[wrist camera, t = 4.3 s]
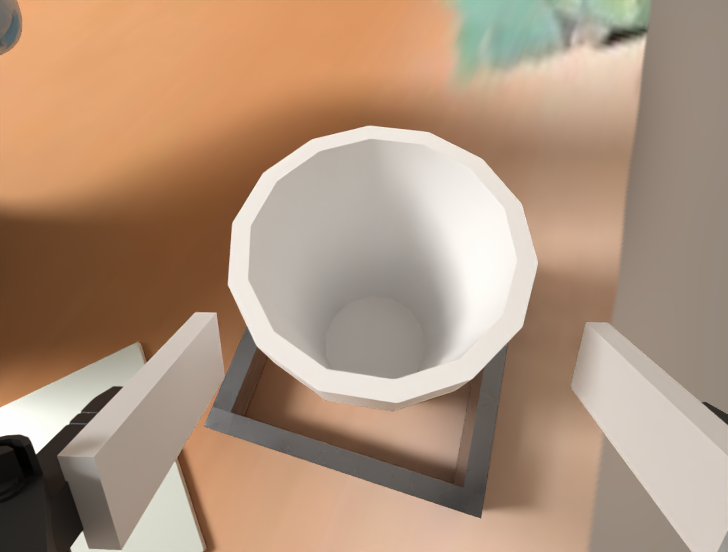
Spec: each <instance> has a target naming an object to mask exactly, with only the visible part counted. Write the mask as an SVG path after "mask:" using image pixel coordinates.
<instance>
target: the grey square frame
mask: <svg viewBox="0 0 728 552" xmlns="http://www.w3.org/2000/svg"><path fill="white" fill-rule="evenodd" d="M507 344H508V342H507V343H506V345H505V346H504V347H503V348H502V349H501V350H500V351H499V352H498V353H497V354H496V355H495V356H494V357H493V358H492V359H491V360H490V361H489V362H488V363H487V364H486V365H485V366H484V367H483V369H482V370H481V371H480V372H479V373H478V374H477V375H476V376H475V377H474V378H473V379H472V383H471V389H470V394H469V400H468V405H467V411H466V416H465V422H464V427H463V433H462V438H461V444H460V449H459V455H458V460H457V466H456V471H455V477H454V482H453V484H452V483H449V482H446V481H443V480H440V479H437V478H433V477H430V476H427V475H424V474H421V473H418V472H415V471H412V470H409V469H406V468H403V467H399V466H396V465H393V464H390V463H387V462H384V461H381V460H378V459H375V458H372V457H369V456H365V455H362V454H359V453H356V452H353V451H350V450H347V449H344V448H341V447H338V446H334V445H331V444H328V443H325V442H322V441H319V440H316V439H313V438H310V437H307V436H304V435H300V434H297V433H294V432H291V431H288V430H285V429H282V428H279V427H276V426H273V425H270V424H266V423H263V422H260V421H257V420H254V419H251V418H248V417H245V414H246V411H247V409H248V406H249V403H250V401H251V398H252V396H253V393H254V391H255V388H256V386H257V383H258V381H259V378H260V375H261V373H262V370H263V368H264V365H265V363H266V360H267V358H268V356H267V355H266V354H265V353H263V352H262V351H261V350H260V349H259V348H258V347H257V346H256V344H255V342H254V340H253V337H252V335H251V333H250V331H249V329H248V327H246V329H245V332H244V334H243V336H242V339H241V341H240V343H239V346H238V348H237V350H236V353H235V355H234V357H233V360H232V362H231V364H230V367H229V369H228V372H227V374H226V376H225V379H224V381H223V383H222V386H221V388H220V390H219V393H218V395H217V397H216V400H215V402H214V404H213V407H212V409H211V411H210V414H209V416H208V418H207V421H206V423H205V425H204V427H207V428H210V429H213V430H216V431H219V432H222V433H225V434H228V435H231V436H234V437H237V438H240V439H243V440H246V441H249V442H252V443H255V444H258V445H261V446H264V447H267V448H270V449H273V450H276V451H279V452H282V453H285V454H288V455H291V456H294V457H297V458H300V459H303V460H306V461H309V462H312V463H315V464H318V465H321V466H324V467H327V468H330V469H333V470H336V471H339V472H342V473H345V474H348V475H352V476H355V477H358V478H361V479H364V480H367V481H370V482H373V483H376V484H379V485H382V486H385V487H388V488H391V489H394V490H397V491H400V492H403V493H406V494H409V495H412V496H415V497H418V498H421V499H424V500H427V501H430V502H433V503H436V504H439V505H442V506H445V507H448V508H451V509H454V510H457V511H460V512H463V513H466V514H469V515H472V516H475V517H478V518H481V515H482V509H483V502H484V495H485V489H486V482H487V476H488V469H489V463H490V456H491V449H492V443H493V436H494V430H495V423H496V416H497V410H498V403H499V397H500V390H501V384H502V377H503V370H504V364H505V357H506V351H507Z"/></svg>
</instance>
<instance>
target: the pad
mask: <svg viewBox="0 0 728 552" xmlns="http://www.w3.org/2000/svg"><path fill="white" fill-rule="evenodd" d="M146 363H147V361H146V358H145V355H144V352H143V349H142V346H141V343H139V342H136V343H134V344H132V345H130V346H128V347H126V348H123V349H121V350H119V351H117V352H115V353H113V354H111V355H109V356H107V357H105V358H103V359H101V360H98V361H96V362H94V363H92V364H90V365H88V366H86V367H84V368H82V369H80V370H78V371H76V372H73V373H71V374H69V375H67V376H65V377H63V378H61V379H59V380H57V381H55V382H53V383H51V384H48V385H46V386H44V387H42V388H40V389H38V390H36V391H34V392H32V393H30V394H28V395H26V396H23V397H21V398H19V399H17V400H15V401H13V402H11V403H9V404H7V405H5V406H3V407H1V408H0V437H1V436H5V435H17V434H21V435H24V436H27V437H29V439H30V440H31V442H32V445H33V447H34V450H35V453H36V454H37V453H38V452H39V451H40V450H41V449H42V448H43V447H44V446H45V445H46V444H47V443H48V442H49V441H50V440H51V439H52V438H53V437H54V436H55V435H56V434H58V433H59V432H60V431H61V430H62V429H63V428H64V427H65V426H66V425H69V423H70V421H71V420H72V419H73V418H74V417H75V416H76V415H77V414H78V413H81V410H82V409H83V408H84V407H85V406H86V405H87V404H88V403H89V402H91V401H92V400H93V399H94V398H95V397H96V396H98V395H100V394H101V393H103V392H105V391H106V390H108V389H110V388H111V387H113V386H125V385H126V384H127V383H128V382H129V381H130V380H131V378H132V377H133V376H134V375H135V374H136V373H137V372H138V371H139V370H140V369H141V368H142V367H143V366H144V365H145V364H146ZM70 549H71V551H72V552H203V551H204V550H206V549H207V548H206V545H205V542H204V539H203V536H202V533H201V530H200V526H199V523H198V520H197V517H196V514H195V511H194V508H193V505H192V501H191V498H190V495H189V492H188V489H187V486H186V483H185V480H184V476H183V473H182V470H181V467H180V464H179V461H178V458H176V460H175V462H174V463H173V465H172V467H171V468H170V470H169V472H168V473H167V475H166V477H165V478H164V480H163V482H162V484H161V485H160V487H159V489H158V490H157V492H156V494H155V495H154V497H153V499H152V500H151V502H150V504H149V505H148V507H147V509H146V510H145V512H144V514H143V515H142V517H141V519H140V520H139V522H138V524H137V525H136V527H135V529H134V530H133V532H132V534H131V535H130V537H129V539H128V540H127V542H126V544H125V545H124V547H123V549H122V550H106V549H89V548H88V545H87V542H86V539H85V536H84V534H83V531H82V532H81V534H80V535H79V537H78V538H77V539H76V541H75V542H74V543H73V545H72V546H71V548H70Z"/></svg>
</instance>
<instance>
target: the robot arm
mask: <svg viewBox="0 0 728 552" xmlns="http://www.w3.org/2000/svg"><path fill="white" fill-rule="evenodd" d="M21 32H22V16H21V12H20V8H19V5H18V2H17V0H0V55H2V54H4V53H6V52H8V51H9V50H11V49H12V48H13V47H14V46H15V45H16V44H17V42H18V40H19V38H20V36H21ZM224 378H225V373H224V365H223V358H222V350H221V343H220V335H219V328H218V320H217V313H211V312H195V313H194V314H193V315H192V316H191V317H190V318H189V319H188V320H187V321H186V322H185V323H184V324H183V326H182V327H181V328H180V329H179V330H178V331H177V332H176V333H175V334H174V335H173V336H172V337H171V338H170V339H169V340H168V341H167V342H166V343H165V344H164V345H163V346H162V347H161V348H160V349H159V350H158V351H157V353H156V354H155V355H154V356H153V357H152V358H151V359H150V360H149V361H148V362H147V363H146V364H145V365H144V366H143V367H142V368H141V369H140V370H139V371H138V372H137V373H136V374H135V375H134V376H133V377H132V378H131V380H130V381H129V382H128V383H127V384H126V385H125V386H113V387H111V388H110V389H108V390H106V391H105V392H103V393H101V394H100V395H98V396H96V397H95V398H94V399H93V400H92V401H91V402H89V403H88V404H87V405H86V406H85V407H84V408H83V409H82V410H81V413H78V414H77V415H76V416H75V417H74V418H73V419H72V420H71V421H70V423H69V425H66V426H65V427H64V428H63V429H62V430H61V431H60V432H59V433H58V434H56V435H55V436H54V437H53V438H52V439H51V440H50V441H49V442H48V443H47V444H46V445H45V446H44V447H43V448H42V449H41V450H40V451H39V452H38V453H37V454H36V453H35V450H34V447H33V445H32V442H31V440H30V439H29V437H27V436H24V435H21V434H17V435H5V436H1V437H0V552H72V551H71V549H70V548H71V546H72V545H73V543H74V542H75V541H76V539H77V538H78V537H79V535H80V534H81V532H82V531H83V534H84V536H85V539H86V542H87V545H88V548H89V549H106V550H122V549H123V547H124V545H125V544H126V542H127V540H128V539H129V537H130V535H131V534H132V532H133V530H134V529H135V527H136V525H137V524H138V522H139V520H140V519H141V517H142V515H143V514H144V512H145V510H146V509H147V507H148V505H149V504H150V502H151V500H152V499H153V497H154V495H155V494H156V492H157V490H158V489H159V487H160V485H161V484H162V482H163V480H164V478H165V477H166V475H167V473H168V472H169V470H170V468H171V467H172V465H173V463H174V462H175V460H176V458H177V457H178V455H179V453H180V452H181V450H182V448H183V447H184V445H185V443H186V442H187V440H188V438H189V437H190V435H191V433H192V432H193V430H194V428H195V427H196V425H197V423H198V422H199V420H200V418H201V417H202V415H203V413H204V412H205V410H206V408H207V407H208V405H209V403H210V402H211V400H212V398H213V397H214V395H215V393H216V392H217V390H218V388H219V387H220V385H221V383H222V382H223V380H224ZM570 387H571V389H572V390H573V391H574V393H575V394H576V396H577V397H578V398H579V400H580V401H581V402H582V404H583V405H584V406H585V408H586V409H587V411H588V412H589V413H590V415H591V416H592V417H593V419H594V420H595V421H596V423H597V424H598V425H599V427H600V428H601V430H602V431H603V432H604V434H605V435H606V436H607V438H608V439H609V440H610V442H611V443H612V444H613V446H614V447H615V449H616V450H617V451H618V453H619V454H620V455H621V457H622V458H623V459H624V461H625V462H626V463H627V465H628V466H629V468H630V469H631V470H632V472H633V473H634V474H635V476H636V477H637V478H638V480H639V481H640V483H641V484H642V485H643V487H644V488H645V489H646V491H647V492H648V493H649V494H650V496H651V497H652V499H653V500H654V502H655V503H656V504H657V506H658V507H659V508H660V510H661V511H662V512H663V514H664V515H665V516H666V518H667V519H668V520H669V522H670V523H671V525H672V526H673V527H674V529H675V530H676V531H677V533H678V534H679V536H680V537H681V538H682V539H683V541H684V542H685V544H686V545H687V546H688V548H689V549H690V550H691V552H728V414H726V413H724V412H723V411H721V410H719V409H717V408H715V407H714V406H712V405H710V404H708V403H707V402H700V401H699V400H698V399H697V398H695V397H694V396H693V395H692V394H691V393H690V392H688V391H687V390H686V389H685V388H684V387H683V386H681V385H680V384H679V383H678V382H677V381H676V380H674V379H673V378H672V377H671V376H670V375H669V374H667V373H666V372H665V371H664V370H663V369H662V368H660V367H659V366H658V365H657V364H656V363H655V362H653V361H652V360H651V359H650V358H648V356H646V355H645V354H644V353H643V352H642V351H641V350H639V349H638V348H637V347H636V346H635V345H634V344H632V343H631V342H630V341H629V340H628V339H627V338H625V337H624V336H623V335H622V334H621V333H620V332H619V331H617V330H616V329H615V328H614V327H613V326H612V325H610V324H609V323H608V322H586V323H585V328H584V332H583V336H582V340H581V344H580V349H579V353H578V357H577V361H576V365H575V370H574V374H573V378H572V382H571V386H570Z"/></svg>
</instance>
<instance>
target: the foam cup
mask: <svg viewBox="0 0 728 552" xmlns="http://www.w3.org/2000/svg"><path fill="white" fill-rule="evenodd" d="M537 266H538V261H537V257H536V253H535V250H534V246H533V242H532V239H531V235H530V231H529V228H528V224H527V221H526V217H525V213H524V210H523V206H522V203H521V202H520V201H519V200H518V199H517V198H516V197H515V195H514V194H513V193H512V192H511V191H510V190H509V189H508V188H507V186H506V185H505V184H504V183H503V182H502V181H501V180H500V178H499V177H498V176H497V175H496V174H495V173H494V172H493V170H492V169H491V168H490V167H489V166H488V165H487V164H486V162H485V161H484V160H483V159H482V158H480V157H478V156H476V155H474V154H472V153H470V152H468V151H466V150H464V149H462V148H460V147H458V146H456V145H454V144H452V143H450V142H448V141H446V140H444V139H442V138H440V137H438V136H436V135H434V134H432V133H429V132H424V131H415V130H405V129H396V128H387V127H378V126H365V127H361V128H357V129H353V130H349V131H344V132H340V133H336V134H332V135H328V136H324V137H320V138H315V139H311V140H310V141H309V142H307V143H306V144H304V145H303V146H301V147H300V148H298V149H297V150H296V151H294V152H293V153H291V154H290V155H288V156H287V157H285V158H284V159H282V160H281V161H280V162H278V163H277V164H275V165H274V166H272V167H271V168H269V169H268V170H267V171H265V172H264V173H263V174H262V176H261V177H260V179H259V180H258V182H257V184H256V185H255V187H254V189H253V190H252V192H251V193H250V195H249V197H248V198H247V200H246V202H245V203H244V205H243V207H242V208H241V210H240V211H239V213H238V215H237V216H236V218H235V220H234V221H233V223H232V234H231V247H230V261H229V275H228V286H229V288H230V291H231V293H232V295H233V297H234V299H235V301H236V303H237V305H238V308H239V310H240V312H241V314H242V316H243V318H244V320H245V323H246V325H247V327H248V329H249V331H250V333H251V335H252V337H253V340H254V342H255V344H256V346H257V347H258V348H259V349H260V350H261V351H262V352H263V353H265V354H266V355H267V356H268V357H269V358H270V359H271V360H272V361H273V362H274V363H275V364H277V365H278V366H279V367H281V368H282V369H283V370H285V371H286V372H288V373H289V374H290V375H292V376H293V377H294V378H296V379H297V380H298V381H300V382H301V383H302V384H304V385H305V386H307V387H308V388H309V389H311V390H312V391H313V392H315V393H316V394H317V395H319V396H320V397H322V398H323V399H324V400H326V401H330V402H336V403H343V404H349V405H355V406H361V407H367V408H374V409H380V410H386V411H395V410H398V409H402V408H405V407H408V406H411V405H414V404H417V403H420V402H423V401H426V400H429V399H432V398H435V397H439V396H442V395H445V394H448V393H451V392H454V391H456V390H457V389H459V388H460V387H462V386H463V385H465V384H466V383H467V382H469V381H470V380H472V379H473V378H474V377H475V376H476V375H477V374H478V373H479V372H480V371H481V370H482V369H483V367H484V366H485V365H486V364H487V363H488V362H489V361H490V360H491V359H492V358H493V357H494V356H495V355H496V354H497V353H498V352H499V351H500V350H501V349H502V348H503V347H504V346H505V345H506V343H507V342H508V341H509V340H510V339H511V338H512V337H513V336H514V335H515V334H516V333H517V332H518V331H519V330H520V329H521V328H522V327H523V323H524V319H525V315H526V311H527V307H528V303H529V299H530V295H531V291H532V286H533V282H534V278H535V274H536V270H537Z"/></svg>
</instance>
